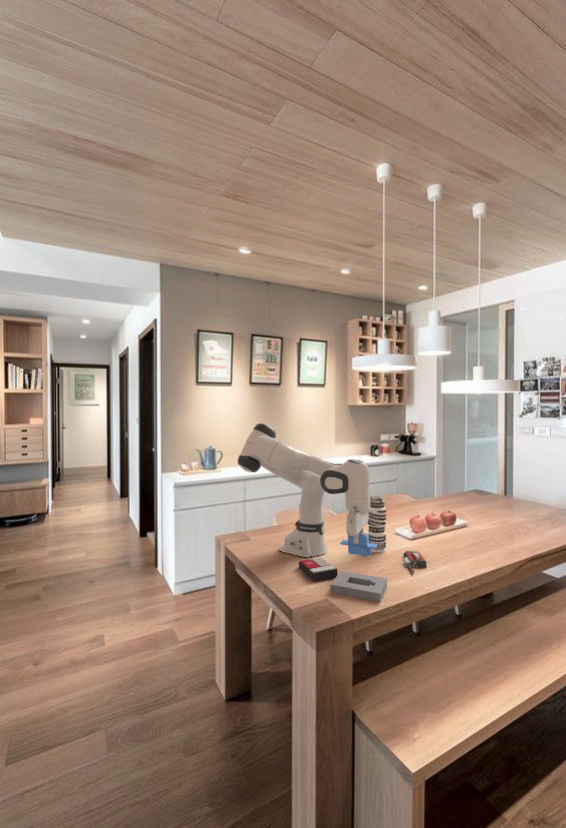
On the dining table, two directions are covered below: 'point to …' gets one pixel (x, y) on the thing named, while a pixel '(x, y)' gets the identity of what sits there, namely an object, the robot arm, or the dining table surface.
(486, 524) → the dining table surface
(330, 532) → the dining table surface
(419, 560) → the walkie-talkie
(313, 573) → the calculator
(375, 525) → the white patterned cylinder
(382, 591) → the chassis deck
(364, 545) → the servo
